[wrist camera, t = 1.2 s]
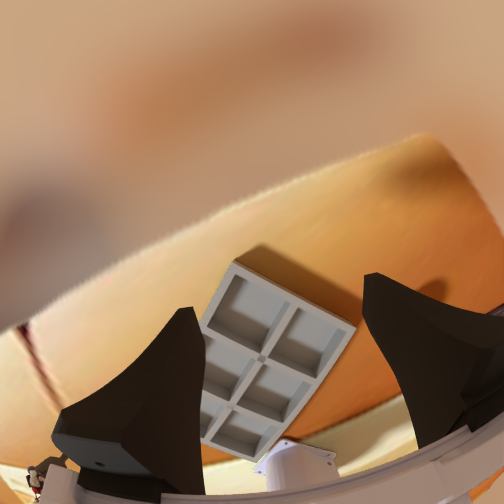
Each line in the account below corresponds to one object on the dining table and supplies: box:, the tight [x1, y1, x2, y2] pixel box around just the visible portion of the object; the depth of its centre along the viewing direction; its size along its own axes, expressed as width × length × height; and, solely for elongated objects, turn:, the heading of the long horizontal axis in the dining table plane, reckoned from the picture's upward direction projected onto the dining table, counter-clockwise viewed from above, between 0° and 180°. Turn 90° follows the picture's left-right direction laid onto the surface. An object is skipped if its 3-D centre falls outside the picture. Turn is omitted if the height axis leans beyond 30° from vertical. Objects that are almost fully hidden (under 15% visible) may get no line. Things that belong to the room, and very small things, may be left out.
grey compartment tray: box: [199, 260, 357, 463], centre depth 29 cm, size 14×21×3 cm
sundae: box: [26, 453, 68, 501], centre depth 24 cm, size 7×7×15 cm
